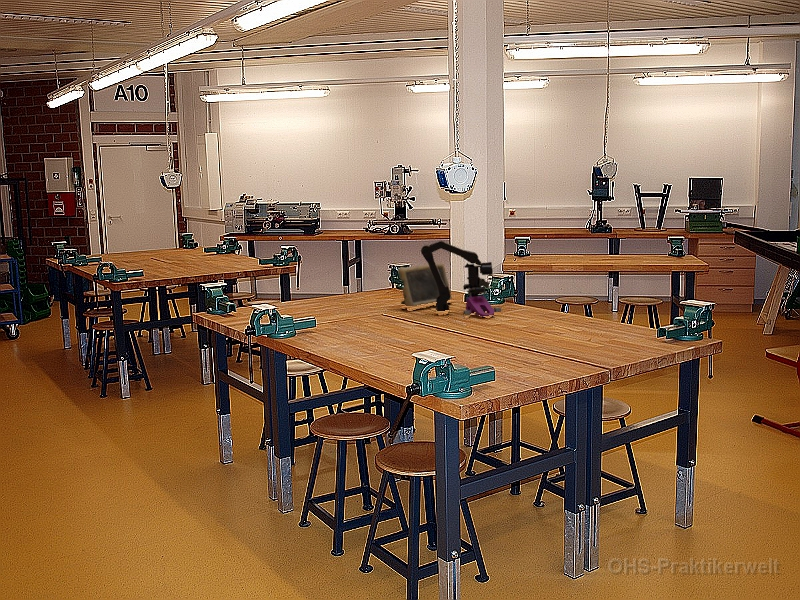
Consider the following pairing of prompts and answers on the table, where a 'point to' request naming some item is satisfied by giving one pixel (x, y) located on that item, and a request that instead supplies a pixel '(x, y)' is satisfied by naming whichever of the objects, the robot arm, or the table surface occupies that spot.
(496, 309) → the stop blocks
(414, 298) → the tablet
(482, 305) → the mounting bracket
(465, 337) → the table surface
